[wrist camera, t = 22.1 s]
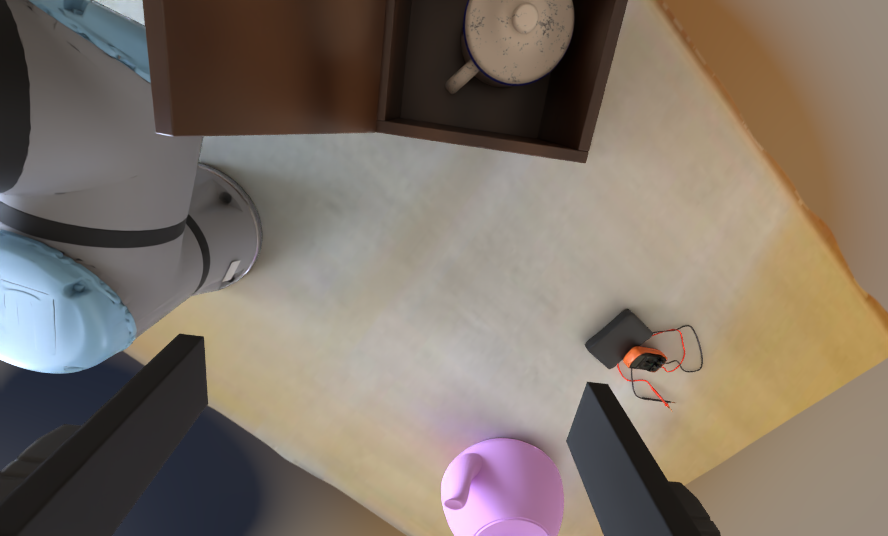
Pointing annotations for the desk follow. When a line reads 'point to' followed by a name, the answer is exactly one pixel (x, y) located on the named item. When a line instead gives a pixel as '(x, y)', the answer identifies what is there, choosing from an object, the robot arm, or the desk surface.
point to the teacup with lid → (512, 41)
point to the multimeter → (630, 347)
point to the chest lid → (264, 66)
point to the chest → (487, 107)
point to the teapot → (503, 491)
